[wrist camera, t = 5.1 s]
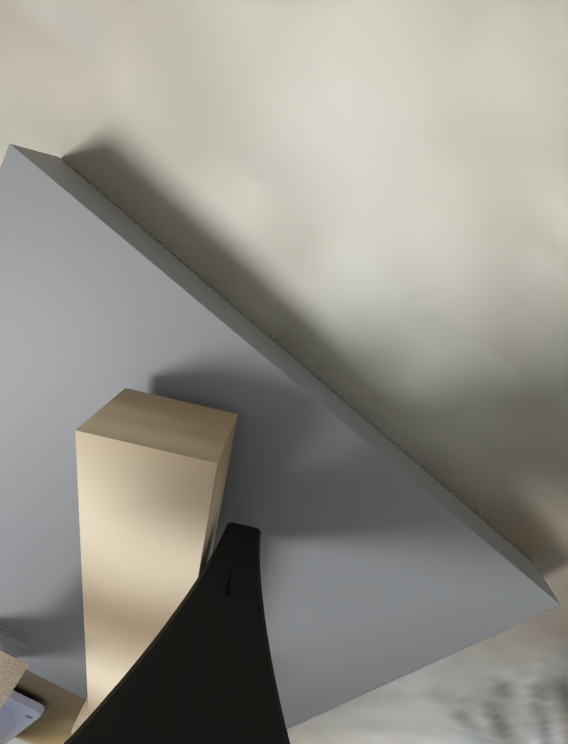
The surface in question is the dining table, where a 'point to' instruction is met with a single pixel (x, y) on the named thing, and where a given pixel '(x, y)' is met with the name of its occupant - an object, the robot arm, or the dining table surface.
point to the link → (143, 522)
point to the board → (245, 470)
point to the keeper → (10, 662)
